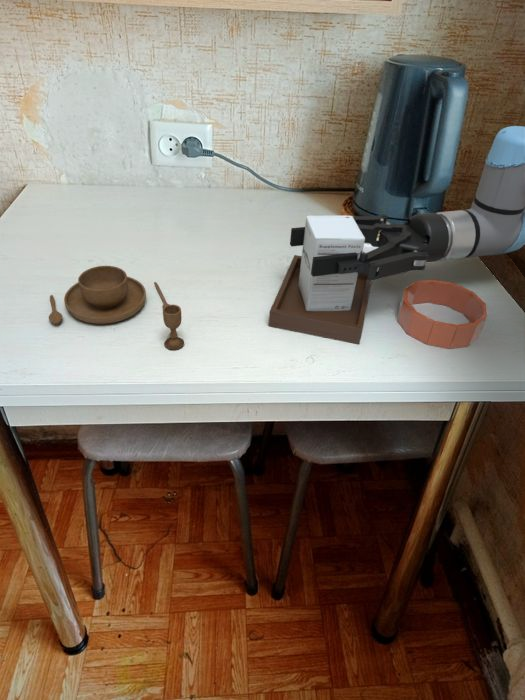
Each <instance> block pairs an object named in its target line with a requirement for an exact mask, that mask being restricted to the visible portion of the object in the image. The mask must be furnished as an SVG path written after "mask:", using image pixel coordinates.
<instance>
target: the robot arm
mask: <svg viewBox="0 0 525 700" xmlns="http://www.w3.org/2000/svg"><path fill="white" fill-rule="evenodd" d="M482 170H483V171H482V172H481V173H482V174H481V177H480V180H479V183H478V186H477V189H476V192H475V194H474V197H473V199H472V204H471V206H470V208H468V209H459V210H447V211H439V212H430V213H429V212H427V213H418V214H414V215H412V216H411V217H409V218H408V220H407V221H406V222H404V223H397V222H393V223H390V222H389V221H388V215H387V214H378V215H377V214H376V215H352V216H353V218H354V220H355V222H356V224H357V225H358V227H359V229H360V231H361V232H362V234H363V236H364V237H365V241H364V243H370V244H371V246H373V247H379V248H376V249H374V250H372V251H370V252H368V253H364V252H363V253H362V251H361V252H360V257H359V259H357V257H358V254H357V253H356V252H355V253H346V254H337V255H328V256H319V257H313V262H312V269H311V275H312V276H313V277H315V276H323V275H331V274H346V273H355V272H357V273H358V274H365V275H367V276H366V279H368V280H370V281H371V282H372V281H376V280H380V279H384V278H388V277H392V276H395V275H399V274H403V273H409V272H411V271H413V272H414V271H418V272H419V271H425V267H426V264H427V263H435V262H438V261H440V262H441V261H448V260H457V259H467V258H476V257H484V256H485V257H486V256H498V255H502V254H507V253H511V252H515V251H518V250H520V249H521V248H523V246H525V126H522V125H513V126H512V125H511V126H506V127H504V128H501V129H500V130H499V131H498V132H497V133H496V136H495V138H494V140H493V141H492V143H491V147H490V149H489V152H488V155H487V156H486V158H485V163H484V166H483V169H482ZM304 234H305V226H299V227H291V229H290V238H289V245H290V247H301V246H302V247H303V242H304Z"/></svg>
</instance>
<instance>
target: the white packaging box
mask: <svg viewBox="0 0 525 700" xmlns="http://www.w3.org/2000/svg"><path fill="white" fill-rule="evenodd" d="M353 216H354V215H306V217H305V224H304V225H305V226H304V227H305V234H304V242H303V245H302V251H301V256H302V258H301V267H300V275H299V284H298V286H299V289H300V291H301V294H302V297H303V301H304V304H305V308H306V311H348V310H351V306H352V301H353V296H354V291H355V286H356V281H357V276H358V273H357V272H355V273H346V274H331V275H323V276H315V277H313V276H312V275H311V269H312V262H313V257H319V256H328V255H337V254H346V253H355V252H356V253H357V254H358V257H357V259H359V257H360V252H361V251H362V252H363V247H364V241H365V237H364V236H363V234H362V232H361V231H360V229H359V227H358V225H357V224H356V222H355V220H354V218H353Z"/></svg>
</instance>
